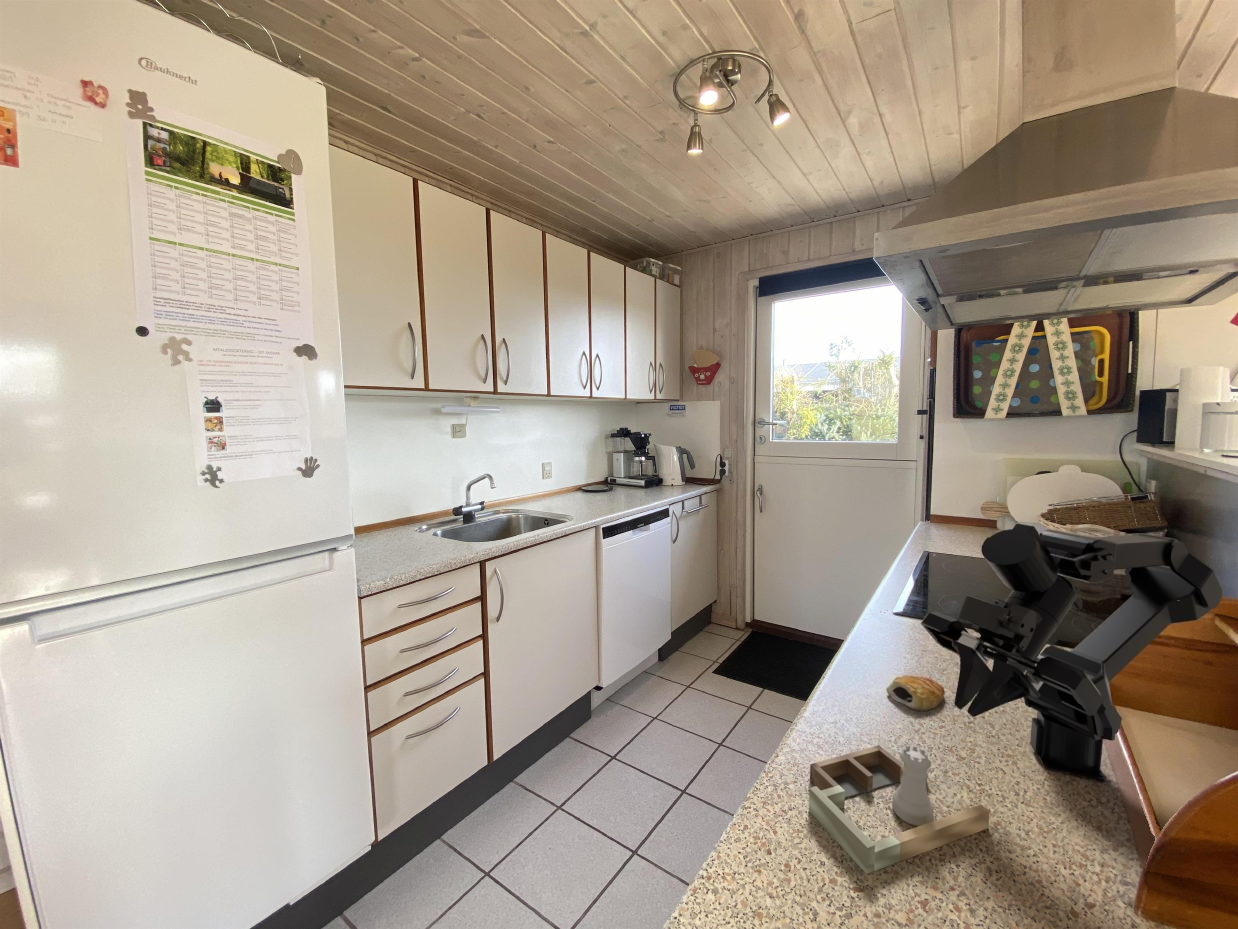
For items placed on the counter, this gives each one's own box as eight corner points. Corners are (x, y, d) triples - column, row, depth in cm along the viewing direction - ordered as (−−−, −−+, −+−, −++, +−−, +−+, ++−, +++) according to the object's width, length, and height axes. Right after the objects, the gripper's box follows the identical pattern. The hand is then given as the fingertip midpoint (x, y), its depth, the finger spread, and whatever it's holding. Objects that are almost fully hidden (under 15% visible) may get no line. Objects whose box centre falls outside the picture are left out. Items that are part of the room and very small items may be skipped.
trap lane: (893, 755, 71) (894, 735, 71) (988, 828, 59) (990, 804, 58) (786, 786, 65) (786, 765, 65) (866, 874, 53) (867, 847, 53)
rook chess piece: (895, 794, 64) (898, 735, 63) (936, 812, 61) (940, 750, 60) (887, 816, 60) (890, 754, 60) (931, 835, 58) (934, 770, 57)
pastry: (917, 683, 91) (919, 663, 90) (956, 702, 85) (958, 681, 84) (882, 696, 87) (883, 675, 86) (920, 717, 81) (922, 694, 80)
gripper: (933, 555, 71) (869, 641, 69) (1093, 600, 53) (1014, 719, 51) (971, 601, 74) (910, 686, 72) (1133, 659, 57) (1060, 773, 54)
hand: (963, 710), depth 62 cm, fingers closed
